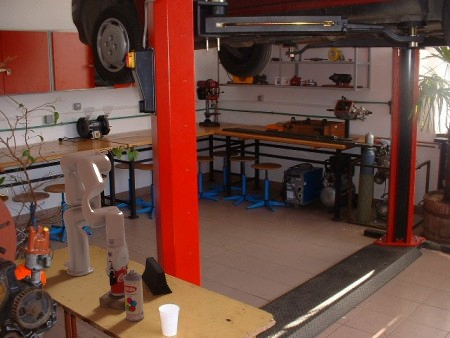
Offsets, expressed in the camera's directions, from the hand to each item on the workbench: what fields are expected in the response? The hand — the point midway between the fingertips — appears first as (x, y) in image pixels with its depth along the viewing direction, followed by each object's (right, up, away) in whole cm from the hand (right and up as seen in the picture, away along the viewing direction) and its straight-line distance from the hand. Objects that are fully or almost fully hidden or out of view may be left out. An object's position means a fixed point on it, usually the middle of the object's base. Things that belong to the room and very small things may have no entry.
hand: (118, 282), depth 228 cm
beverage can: (0, -5, -1) cm, 5 cm away
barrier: (+13, -6, +20) cm, 24 cm away
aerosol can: (+9, -12, -12) cm, 19 cm away
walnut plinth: (0, -9, +2) cm, 9 cm away
